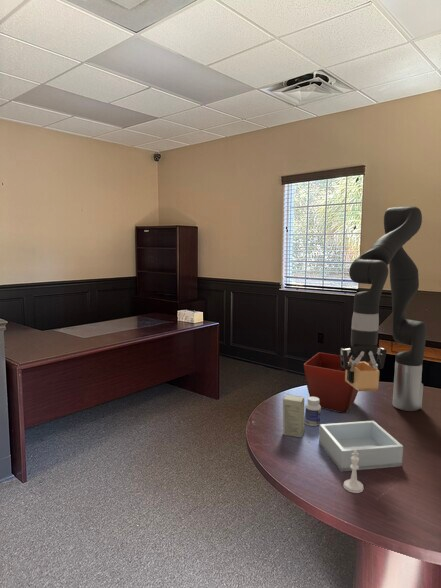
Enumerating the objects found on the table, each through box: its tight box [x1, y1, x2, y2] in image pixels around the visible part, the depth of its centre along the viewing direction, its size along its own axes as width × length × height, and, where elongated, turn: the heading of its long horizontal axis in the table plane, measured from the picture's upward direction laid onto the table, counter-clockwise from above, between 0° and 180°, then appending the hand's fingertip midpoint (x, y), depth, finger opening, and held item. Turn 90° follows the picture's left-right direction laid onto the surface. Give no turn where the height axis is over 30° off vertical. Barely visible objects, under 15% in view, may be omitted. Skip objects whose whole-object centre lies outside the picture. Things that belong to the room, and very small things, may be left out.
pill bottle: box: [304, 396, 322, 427], centre depth 141 cm, size 5×5×9 cm
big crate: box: [318, 420, 404, 473], centre depth 122 cm, size 18×16×6 cm
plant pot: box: [303, 352, 367, 414], centre depth 156 cm, size 19×19×17 cm
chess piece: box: [343, 451, 364, 494], centre depth 106 cm, size 5×5×10 cm
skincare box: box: [282, 394, 305, 438], centre depth 134 cm, size 6×4×12 cm
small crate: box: [345, 362, 380, 392], centre depth 123 cm, size 6×9×6 cm, turn 8°
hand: (361, 382), depth 124 cm, fingers closed on small crate, 6 cm apart
